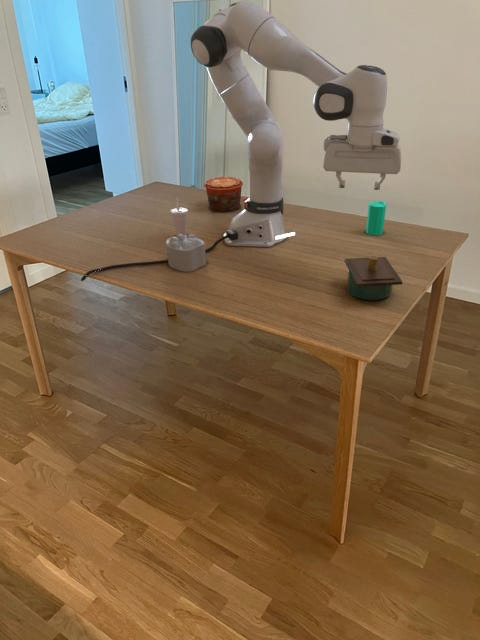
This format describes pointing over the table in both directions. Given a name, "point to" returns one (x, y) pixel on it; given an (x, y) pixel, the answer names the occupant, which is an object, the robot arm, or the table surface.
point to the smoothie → (179, 219)
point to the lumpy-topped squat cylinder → (185, 252)
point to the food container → (224, 193)
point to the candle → (376, 218)
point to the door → (372, 271)
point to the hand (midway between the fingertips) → (359, 188)
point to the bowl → (368, 290)
